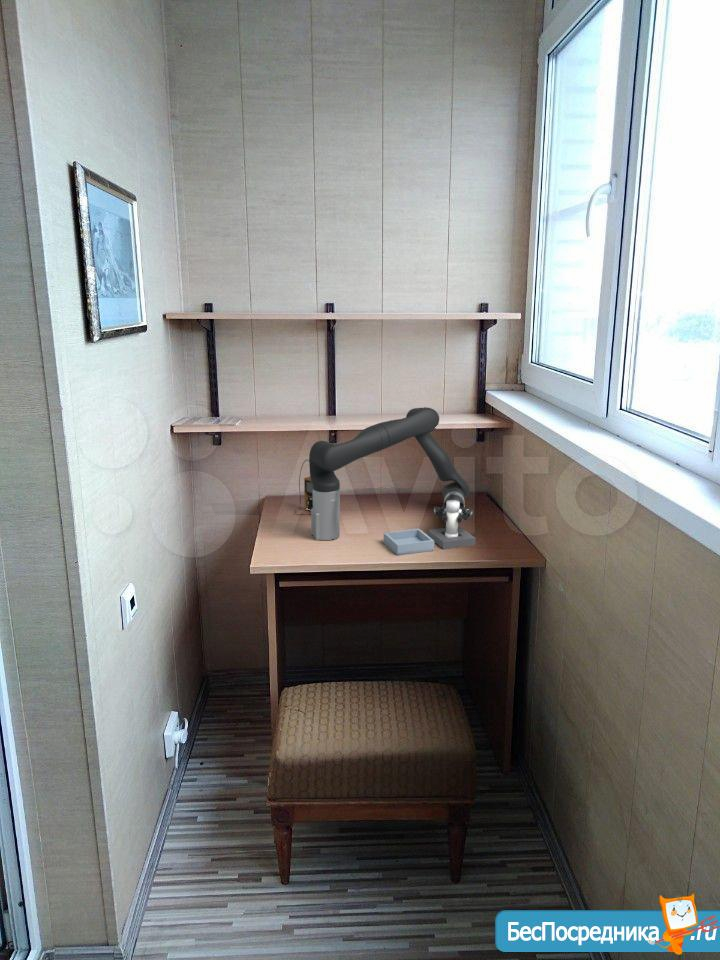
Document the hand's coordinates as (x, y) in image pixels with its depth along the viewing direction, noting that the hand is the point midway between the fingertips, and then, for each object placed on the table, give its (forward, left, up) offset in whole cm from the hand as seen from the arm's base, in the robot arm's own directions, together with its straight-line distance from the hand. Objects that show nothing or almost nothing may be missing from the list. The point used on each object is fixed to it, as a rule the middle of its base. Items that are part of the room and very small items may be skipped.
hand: (452, 520), depth 226 cm
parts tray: (-15, +2, -8) cm, 17 cm away
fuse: (+1, +2, -8) cm, 9 cm away
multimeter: (-38, +45, -9) cm, 60 cm away
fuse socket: (+1, +2, -8) cm, 9 cm away
